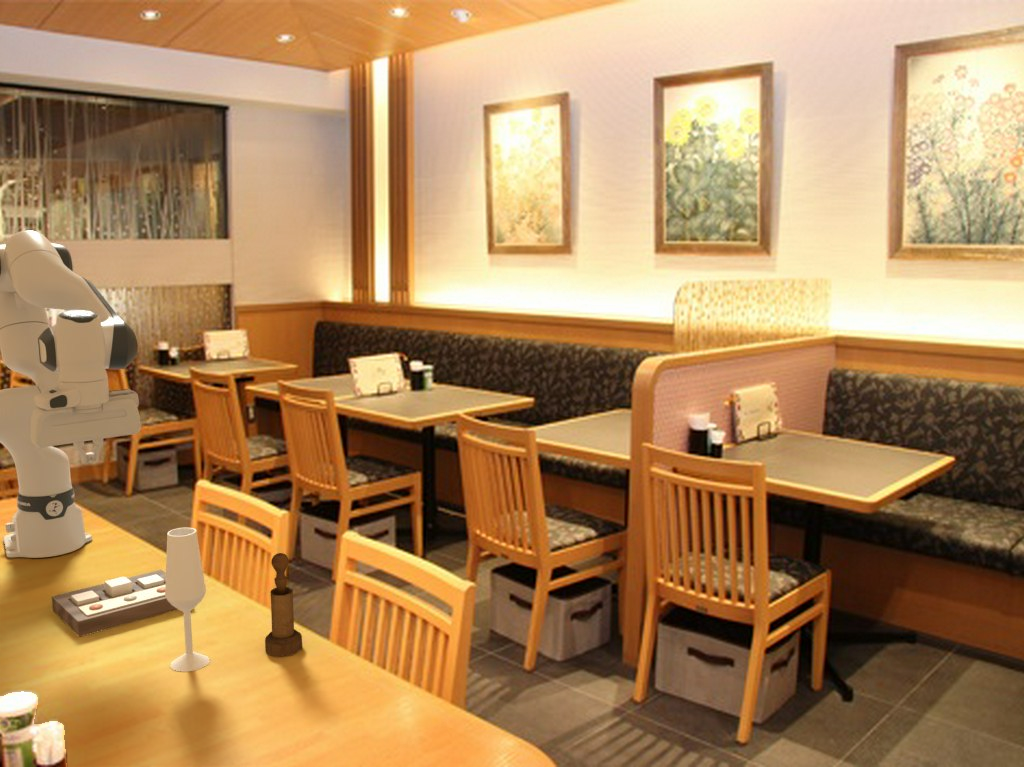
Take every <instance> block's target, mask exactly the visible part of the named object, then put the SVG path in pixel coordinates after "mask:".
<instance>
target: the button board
mask: <svg viewBox="0 0 1024 767" xmlns="http://www.w3.org/2000/svg"><path fill="white" fill-rule="evenodd" d="M156 574H157V575H158V576H160V577H161V578H162V579H164V584H163V585H165V584H166V571H163V569H158V570H154V571H150V572H146V573H141V574H138V575H134V576H130V577H126V578H127V579H129V580H130V581H131V582H132V591H133V592H131V593H135V592H139V591H143V590H147V589H151V588H155V587H158V586H155V587H151V588H147V589H142V588H141V587H139V586H138V583H137V579H140V578H144V577H148V576H152V575H156ZM159 586H162V585H159ZM91 590H92V591H93V592H95V593H96V594H97V595H98V596H99V601H96V602H100V601H104V600H108V599H112V598H116V597H120V596H123V595H120V596H116V597H112V598H110V597H109V596H108V595H106V594H105V583H100V584H97V585H93V586H88V587H85V588H81V589H76V590H73V591H68V592H65V593H61V594H57V595H52V596H51V604H52V606H51V608H52V611H53V613H54V614H55V615H57V617H59V618H60V619H61V620H62V621H63V622H64V623H65V624H66V626H68V628H70V629H71V630H72V631H73V632H74V633H75V634H76V635H77V636H78V637H79V636H80V637H83V635H84V636H87V634H88V635H90V633H91V634H94V632H95V633H98V632H101V630H102V631H105V629H106V630H109V629H113V628H115V627H120V626H123V625H127V624H131V623H134V622H137V621H141V620H145V619H149V618H153V617H156V616H159V615H163V614H167V613H170V611H171V612H174V611H178V610H177V608H175V607H174V606H172V605H171V604H170V603H169V602H168V600H167V599H166V596H163V597H159V598H155V599H152V600H148V601H144V602H140V603H137V604H133V605H129V606H125V607H121V608H118V609H114V610H110V611H106V612H102V613H99V614H95V615H91V616H86V615H85V614H84V613H83V612H82V611H80V610H79V609H78V607H81V606H84V605H81V606H77V607H76V606H75V605H74V604H73V603H72V601H71V595H75V594H79V593H83V592H87V591H91ZM131 593H127V594H131ZM127 594H124V595H127ZM96 602H92V603H96ZM92 603H88V604H92ZM88 604H85V605H88ZM97 631H98V632H97Z"/></svg>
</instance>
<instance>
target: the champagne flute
mask: <svg viewBox="0 0 1024 767" xmlns="http://www.w3.org/2000/svg"><path fill="white" fill-rule="evenodd" d="M166 536H167V537H166V558H165V559H166V560H165V573H166V584H165V596H166V599H167V600H168V602H169V603H170V604H171V605H172V606H174V607H175V608H177V609H178V610H177V611H181V612H182V613H183V614H182V615H183V628H184V629H183V630H184V645H185V653H183V654H181V655H180V656H178V657H177V658H175V659H173V661H171V663H170V664H171V665H170V664H169V667H170V669H171V670H173V671H175V670H176V672H180V671H181V672H183V673H187V672H194V671H198V670H200V669H203V668H205V667H206V666H208V665H210V664H209V663H210V661H211V659H210V657H209V656H207V655H205V654H201V653H199V652H196V651H194V648H193V645H194V644H193V632H192V615H191V612H192V611H193V610H194V609H195V608H196V607H197V606H198V605H199V604H200V603H201V602H202V601H203V599H204V598H205V595H206V592H207V588H206V587H207V586H206V582H205V575H204V570H203V564H202V558H201V551H200V544H199V538H198V532H197V529H196V528H194V527H177V528H174V529H171V530H169V531H167V534H166ZM208 657H209V658H208ZM209 659H210V660H209ZM204 666H205V667H204ZM181 672H180V673H181Z"/></svg>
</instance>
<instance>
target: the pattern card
mask: <svg viewBox="0 0 1024 767" xmlns="http://www.w3.org/2000/svg"><path fill="white" fill-rule="evenodd" d="M163 596H165V585H162V586H158V587H155V588H151V589H147V590H143V591H139V592H135V593H131V594H127V595H123V596H120V597H116V598H112V599H108V600H104V601H100V602H96V603H92V604H88V605H84V606H81V607H78V609H79V610H80V611H82V612H83V613H84V614H85V615H86V616H91V615H95V614H99V613H102V612H106V611H110V610H114V609H118V608H121V607H125V606H129V605H133V604H137V603H140V602H144V601H148V600H152V599H155V598H159V597H163Z"/></svg>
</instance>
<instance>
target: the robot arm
mask: <svg viewBox="0 0 1024 767" xmlns="http://www.w3.org/2000/svg"><path fill="white" fill-rule="evenodd" d="M47 309H52V310H53V309H54V310H63V312H61V313H59V314H57V316H56V322H55V324H54V325H52V326H50V322H49V316H48V313H47ZM138 344H139V343H138V339H137V336H136V334H135V332H134V329H133V328H132V327H131V326H130V325H129V324H128V323H127V322H126V321H124V320H123V319H122V318H121V317H119V315H118V314H117V312H116V311H115V310H114V309H113V308H112V306H111V305H110V303H109V302H108V301H107V300H106V298H105V297H104V296H103V295H102V293H101V292H100V290H98V289H97V288H96V286H95V285H94V283H92V282H91V280H89V279H87V278H85V277H82V276H81V275H79V274H77V273H75V272H74V261H73V258H72V255H71V253H70V251H69V249H67V247H66V246H65V245H62V244H59V243H58V244H57V243H53V242H51V241H50V240H49V239H48V238H47V237H46V236H45V235H44V234H42V233H41V232H38V231H35V230H30V229H29V230H20V231H18V232H16V233H14V234H13V235H11V236H9V238H8V239H7V242H6V243H2V244H0V353H1V360H2V362H3V364H4V365H5V366H6V367H7V368H8V369H9V370H11V371H12V372H15V373H17V374H20V375H23V376H25V377H28V378H29V379H30V380H32V381H33V382H34V384H35V385H30V386H29V385H28V386H18V387H11V388H10V387H9V388H3V389H0V444H1V445H2V446H3V447H5V449H6V450H7V451H8V453H9V454H10V455H11V458H12V460H13V462H14V466H15V471H16V475H17V476H16V477H17V484H18V493H17V497H16V502H17V505H16V506H17V510H16V512H15V513H14V515H13V516H12V519H11V521H12V522H6V523H5V531H6V533H9V534H6V535H4V536H3V544H5V545H4V550H5V549H6V550H5V554H6V557H7V558H28V559H29V558H31V559H32V558H33V559H39V558H49V557H56V556H61V555H65V554H68V553H69V554H70V553H72V552H75V551H77V550H78V549H81V548H82V547H83V546H85V544H86V543H90V542H92V540H93V535H92V534H89V533H87V532H86V529H85V523H84V515H83V509H82V507H80V506H79V505H77V504H76V503H75V502H76V500H75V494H76V493H75V491H74V487H73V486H72V479H71V478H72V477H71V467H70V466H71V465H70V458H69V456H68V455H67V453H66V452H65V451H64V450H62V449H60V448H58V447H55V446H61V445H62V446H63V445H70V444H72V445H73V447H74V448H75V450H76V451H77V453H78V454H79V455H80V461H81V464H88V463H89V464H90V463H96V462H99V461H100V458H99V453H100V451H101V450H102V448H103V446H104V439H109V438H116V437H125V436H129V435H136V434H139V432H140V430H141V429H142V423H141V416H140V413H139V412H140V411H139V409H138V407H139V405H140V401H139V395H138V393H137V392H136V391H134V390H131V388H124V389H112V390H109V378H108V373H107V372H108V371H107V369H108V370H124V369H125V368H128V366H129V365H131V364H132V363H133V361H134V360H135V358H136V357H137V356H138V351H139V348H138V347H139V346H138ZM87 441H88V442H89V441H92V443H93V444H94V446H93V448H92V449H91V450H92V451H90V452H85V450H84V449H83V447H84V448H85V442H87Z"/></svg>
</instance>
